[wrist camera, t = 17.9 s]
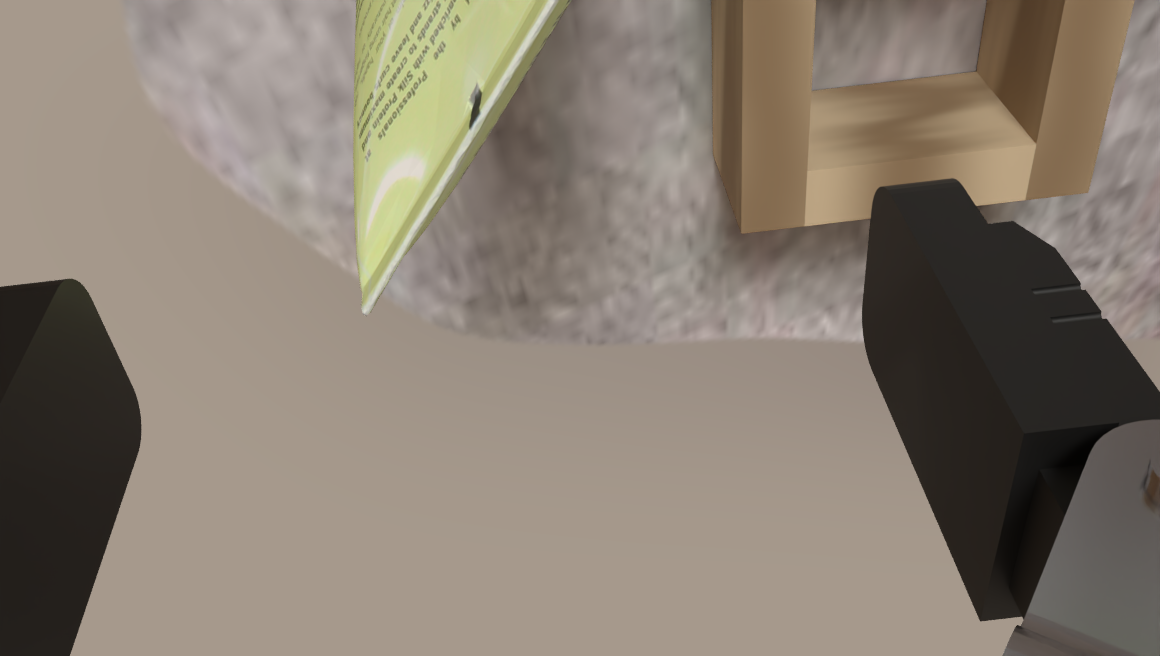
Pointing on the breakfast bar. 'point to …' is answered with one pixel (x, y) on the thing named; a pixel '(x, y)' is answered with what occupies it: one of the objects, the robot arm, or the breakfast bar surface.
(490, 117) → the tube
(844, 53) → the breakfast bar surface
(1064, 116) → the socket block
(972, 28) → the breakfast bar surface
